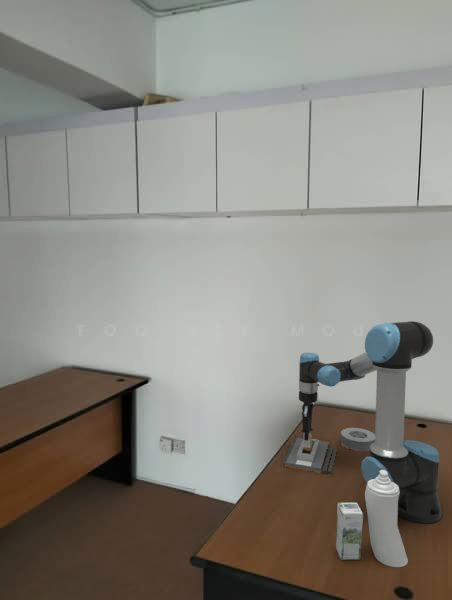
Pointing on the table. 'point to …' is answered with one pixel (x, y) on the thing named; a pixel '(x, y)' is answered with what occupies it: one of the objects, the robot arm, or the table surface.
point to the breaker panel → (317, 459)
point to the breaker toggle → (308, 450)
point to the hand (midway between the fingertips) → (306, 446)
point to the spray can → (384, 520)
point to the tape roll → (357, 438)
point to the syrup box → (349, 531)
